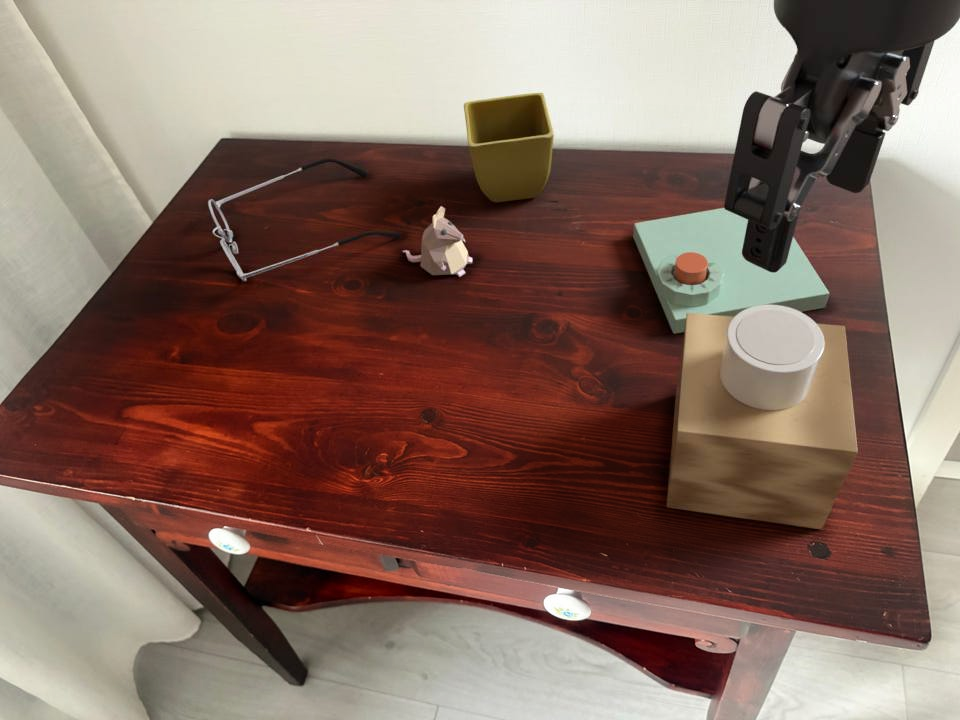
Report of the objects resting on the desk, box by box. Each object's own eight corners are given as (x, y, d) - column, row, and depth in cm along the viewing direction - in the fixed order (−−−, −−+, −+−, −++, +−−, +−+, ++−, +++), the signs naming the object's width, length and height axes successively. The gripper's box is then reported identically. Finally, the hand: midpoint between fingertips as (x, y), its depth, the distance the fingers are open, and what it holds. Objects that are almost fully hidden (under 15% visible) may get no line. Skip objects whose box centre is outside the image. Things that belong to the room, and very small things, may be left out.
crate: (814, 409, 61) (845, 325, 54) (821, 529, 54) (858, 452, 47) (675, 394, 64) (686, 312, 56) (666, 507, 57) (677, 430, 50)
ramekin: (828, 372, 51) (843, 331, 48) (780, 426, 49) (792, 387, 46) (751, 331, 54) (760, 290, 51) (701, 379, 52) (708, 340, 49)
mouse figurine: (414, 237, 82) (402, 185, 77) (479, 252, 79) (472, 200, 74) (390, 267, 79) (376, 216, 74) (457, 285, 76) (447, 233, 71)
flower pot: (547, 160, 88) (543, 90, 81) (557, 206, 82) (554, 134, 76) (473, 171, 88) (463, 101, 82) (478, 217, 83) (468, 146, 76)
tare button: (710, 282, 68) (712, 270, 67) (679, 288, 68) (681, 275, 67) (700, 262, 70) (701, 249, 68) (670, 267, 70) (671, 255, 68)
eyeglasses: (214, 221, 88) (197, 186, 84) (364, 170, 91) (354, 133, 87) (240, 305, 78) (222, 269, 74) (408, 244, 81) (399, 206, 77)
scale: (825, 308, 68) (834, 279, 66) (669, 335, 68) (672, 307, 66) (766, 214, 78) (772, 186, 75) (629, 238, 78) (631, 210, 75)
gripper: (899, -13, 25) (798, 326, 37) (1072, -148, 30) (934, 185, 42) (704, -57, 29) (671, 262, 41) (889, -169, 34) (811, 140, 46)
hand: (805, 222), depth 42 cm, fingers open, 8 cm apart
